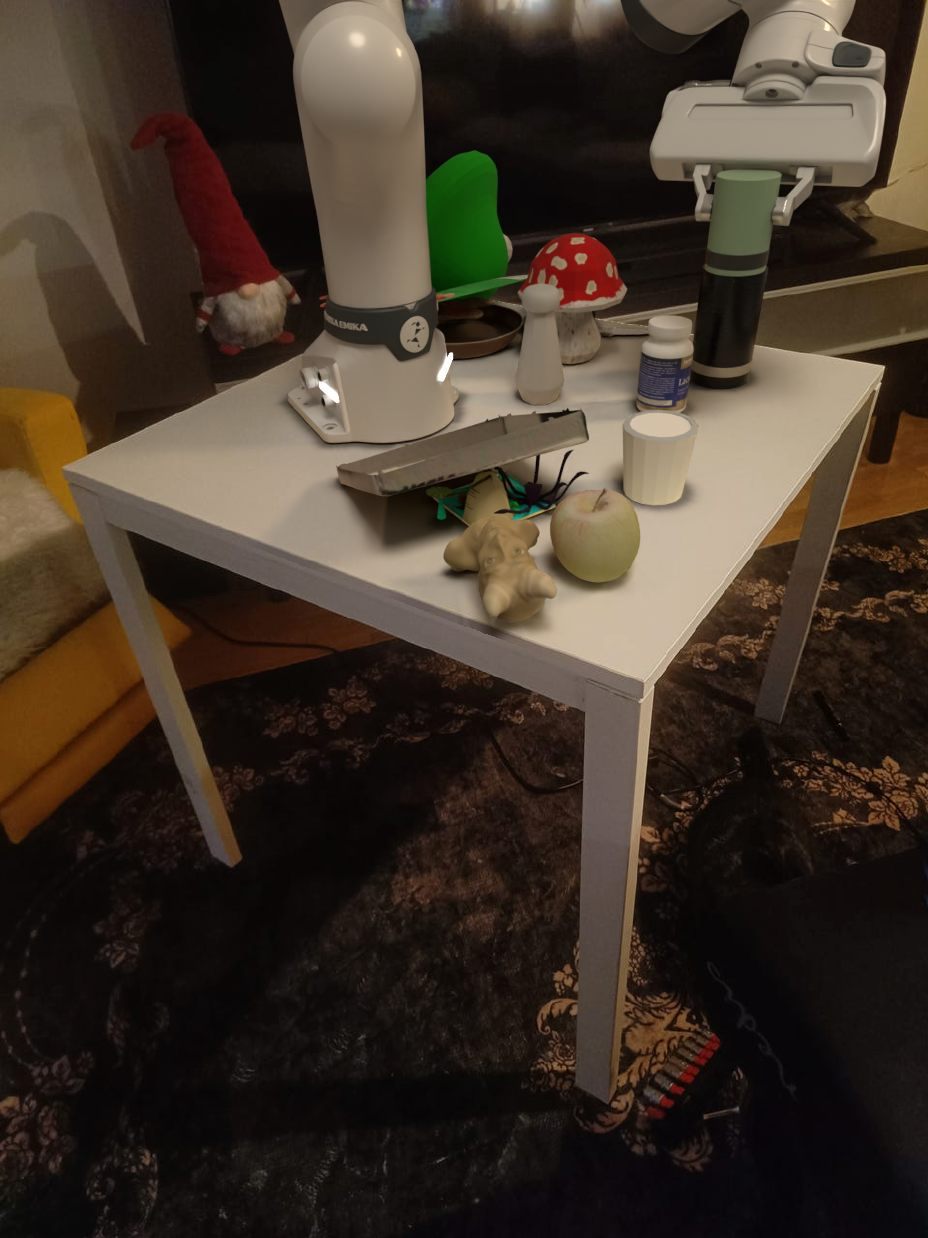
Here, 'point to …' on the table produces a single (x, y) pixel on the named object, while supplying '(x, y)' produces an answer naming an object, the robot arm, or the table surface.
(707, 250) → the green cylinder
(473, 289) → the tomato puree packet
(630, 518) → the fruit
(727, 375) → the flask
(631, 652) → the table surface
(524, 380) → the salt shaker
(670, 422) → the white cup
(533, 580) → the beige knobby lump
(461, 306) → the stone tool
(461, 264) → the toy
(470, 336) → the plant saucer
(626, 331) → the pocket knife
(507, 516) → the diorama
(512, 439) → the decorative tile
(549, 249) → the decorative mushroom
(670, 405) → the pill bottle
